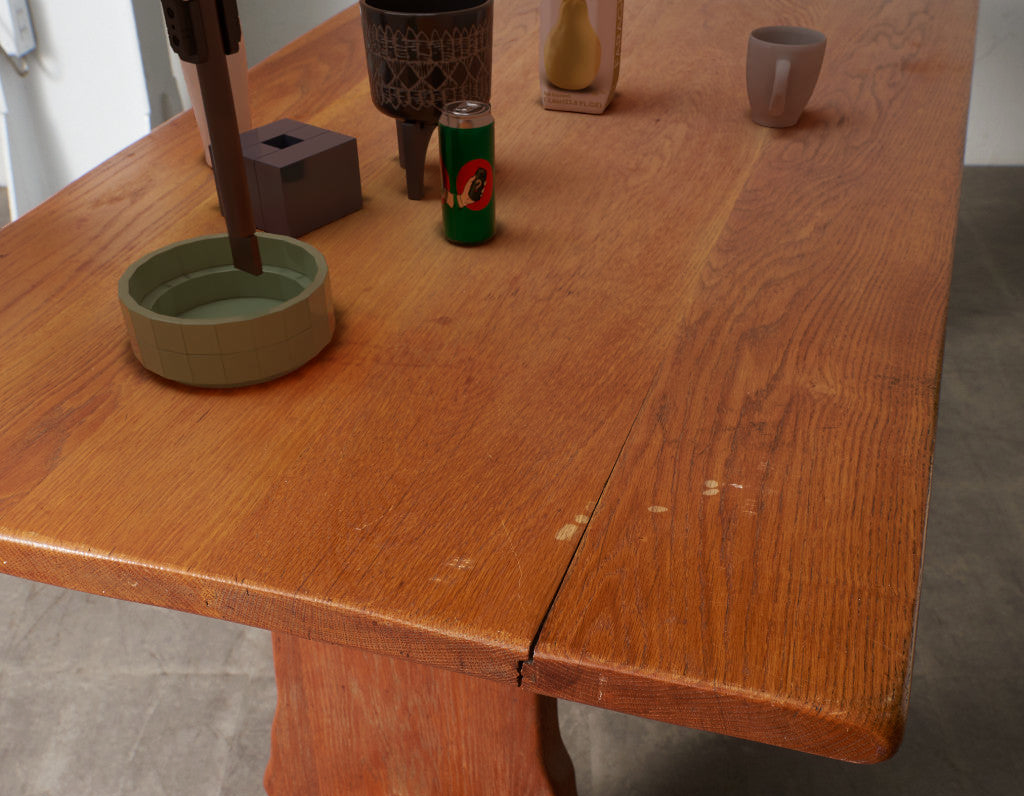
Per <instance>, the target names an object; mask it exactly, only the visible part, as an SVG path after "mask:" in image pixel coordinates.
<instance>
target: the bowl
mask: <svg viewBox="0 0 1024 796" xmlns="http://www.w3.org/2000/svg"><path fill="white" fill-rule="evenodd" d="M254 235H256V236H257V239H258V245H259V251H260V257H261V262H262V268H263V274H261V275H259V276H254V275H251V274H249V273H246V272H244V271H241V270H239V269H236V268H235V267H234V263H233V257H232V252H231V247H230V242H229V236H228V232H219V233H211V234H203V235H198V236H195V237H190V238H186V239H182V240H179V241H174V242H172V243H169V244H167V245H165V246H162V247H160V248H157V249H155V250H153V251H150V252H147V253H145V254H144V255H143V256H141V257H140V258H138V259H137V260H136V261H134V262H132V263H131V264H130V265H128V266H127V268H126V269H125V271H124V272H123V273H122V275H121V276H120V277H119V278H118V281H117V298H118V302H119V305H120V310H121V313H122V316H123V320H124V323H125V327H126V331H127V334H128V338H129V342H130V346H131V349H132V353H133V355H134V356H135V358H136V359H137V360H138V362H139V363H140V364H141V365H142V366H143V368H144V369H146V370H148V371H150V372H152V373H154V374H156V375H158V376H160V377H162V378H164V379H167V380H171V381H174V382H176V383H179V384H182V385H186V386H191V387H195V388H196V387H197V388H203V389H204V388H205V389H234V388H242V387H243V388H244V387H248V386H255V385H259V384H264V383H267V382H271V381H273V380H276V379H277V380H278V378H282V377H284V376H286V375H289V374H290V373H293V372H295V371H296V370H299V368H301V367H303V366H304V365H306V364H307V363H308V362H309V361H311V360H312V359H313V358H315V357H317V356H318V355H319V354H320V352H321V351H322V350H323V349H325V347H326V346H328V344H329V343H330V342H331V341H332V338H333V335H334V332H335V329H336V324H337V323H336V317H335V308H334V300H333V292H332V284H331V276H330V269H329V266H328V263H327V260H326V257H325V255H324V254H323V253H322V252H321V251H320V250H318V248H316V247H314V245H312V244H310V243H308V242H306V241H303V240H299V239H297V238H295V239H294V238H292V237H288V236H284V235H277V234H271V233H269V232H265V231H263V232H262V231H256V232H255V234H254Z"/></svg>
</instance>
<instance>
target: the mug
mask: <svg viewBox="0 0 1024 796" xmlns="http://www.w3.org/2000/svg"><path fill="white" fill-rule="evenodd" d="M827 41H828V38H827V36H826V34H825V33H823V32H821V31H820V30H817V29H813V28H810V27H809V28H808V27H803V26H797V25H767V26H761V27H757V28H755V29H753V30H752V31H751V32H750V33H749V36H748V41H747V42H748V43H747V50H746V61H745V62H746V63H745V83H746V92H747V93H746V94H747V98H748V99H747V100H748V103H749V106H750V109H751V116H752V121H753V123H755V124H758V125H760V126H763V127H767V128H789V127H793V126H795V125H797V124H798V121H799V119H800V117H801V115H802V113H803V111H804V110H805V108H806V107H807V105H808V103H809V101H810V100H811V97H812V95H813V93H814V91H815V88H816V86H817V83H818V81H819V77H820V74H821V71H822V66H823V62H824V59H825V54H826V49H827V44H828V43H827Z"/></svg>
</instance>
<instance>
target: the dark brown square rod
mask: <svg viewBox="0 0 1024 796" xmlns="http://www.w3.org/2000/svg"><path fill="white" fill-rule="evenodd" d="M198 4H199V9H200V15H201V20H202V26H203V31H204V37H205V42H206V48H207V53H208V60H207V62H204V63H201V64H197V65H196V69H197V75H198V80H199V85H200V90H201V96H202V101H203V106H204V111H205V117H206V122H207V127H208V132H209V138H210V143H211V148H212V153H213V159H214V164H215V169H216V174H217V180H218V185H219V190H220V195H221V201H222V206H223V211H224V216H223V217H224V221H225V227H226V233H228V236H229V242H230V247H231V252H232V257H233V263H234V267H235V268H236V269H239V270H241V271H244V272H246V273H249V274H251V275H254V276H259V275H261V274H263V268H262V262H261V257H260V251H259V245H258V239H257V236H256V235H254V234H255V232H257V230H256V229H257V228H255V222H254V216H253V211H252V205H251V199H250V193H249V187H248V181H247V176H246V170H245V164H244V158H243V152H242V146H241V141H240V135H239V129H238V123H237V117H236V111H235V106H234V100H233V94H232V88H231V82H230V77H229V71H228V65H227V59H226V53H225V47H224V42H223V36H222V30H221V24H220V18H219V12H218V7H217V1H216V0H198Z"/></svg>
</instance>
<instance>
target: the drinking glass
mask: <svg viewBox="0 0 1024 796" xmlns="http://www.w3.org/2000/svg"><path fill="white" fill-rule="evenodd" d="M238 17H239V20H240V26H241V32H242V34H241V42H238V43H239V51H238V53H235V54H231V55H226V59H227V65H228V71H229V77H230V82H231V88H232V94H233V100H234V106H235V111H236V117H237V123H238V129H239V134H241V133H244V132H247V131H249V130H252V129H253V123H252V110H251V109H252V108H251V98H250V96H251V95H250V84H249V83H250V82H249V69H248V59H247V58H248V57H247V50H246V45H245V38H244V32H243V27H242V24H241V23H242V22H241V19H240V15H239V16H238ZM178 59H179V63H180V68H181V71H182V75H183V79H184V82H185V86H186V89H187V93H188V96H189V100H190V104H191V107H192V110H193V114H194V117H195V121H196V124H197V128H198V132H199V136H200V139H201V144H202V147H203V152H204V158H205V162H206V163H207V165H208V166H209V167H210V168H211V169H212V164H211V158H210V153H209V148H208V145H210V144H211V143H210V138H209V132H208V127H207V122H206V117H205V111H204V106H203V101H202V96H201V90H200V85H199V80H198V75H197V69H196V64H192V63H188V62H184V61H182V60H181V59H180V58H179V57H178Z"/></svg>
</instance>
